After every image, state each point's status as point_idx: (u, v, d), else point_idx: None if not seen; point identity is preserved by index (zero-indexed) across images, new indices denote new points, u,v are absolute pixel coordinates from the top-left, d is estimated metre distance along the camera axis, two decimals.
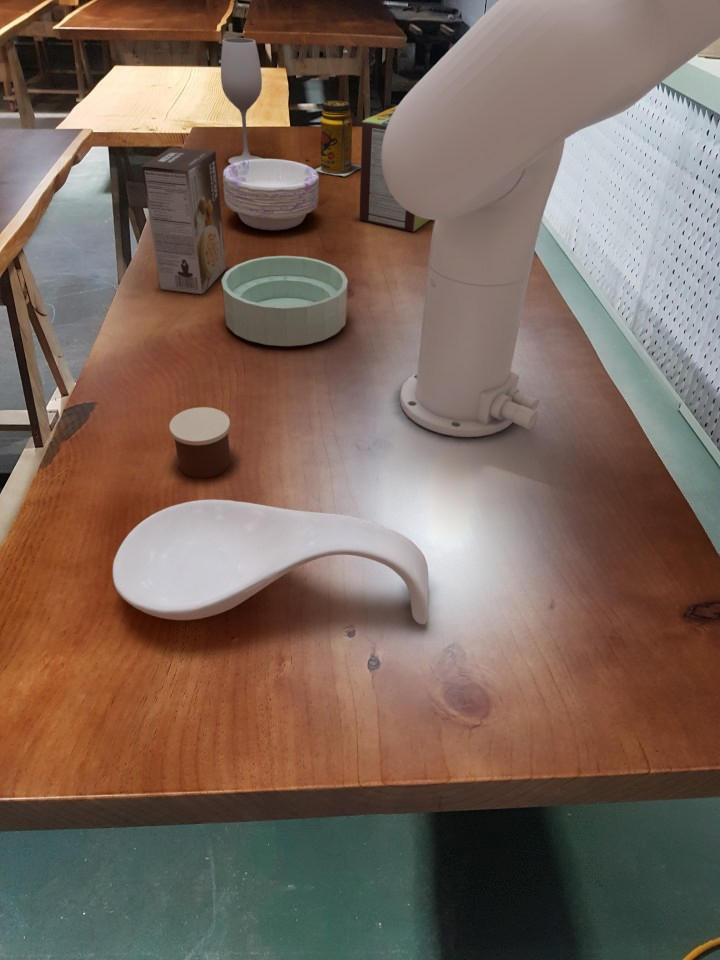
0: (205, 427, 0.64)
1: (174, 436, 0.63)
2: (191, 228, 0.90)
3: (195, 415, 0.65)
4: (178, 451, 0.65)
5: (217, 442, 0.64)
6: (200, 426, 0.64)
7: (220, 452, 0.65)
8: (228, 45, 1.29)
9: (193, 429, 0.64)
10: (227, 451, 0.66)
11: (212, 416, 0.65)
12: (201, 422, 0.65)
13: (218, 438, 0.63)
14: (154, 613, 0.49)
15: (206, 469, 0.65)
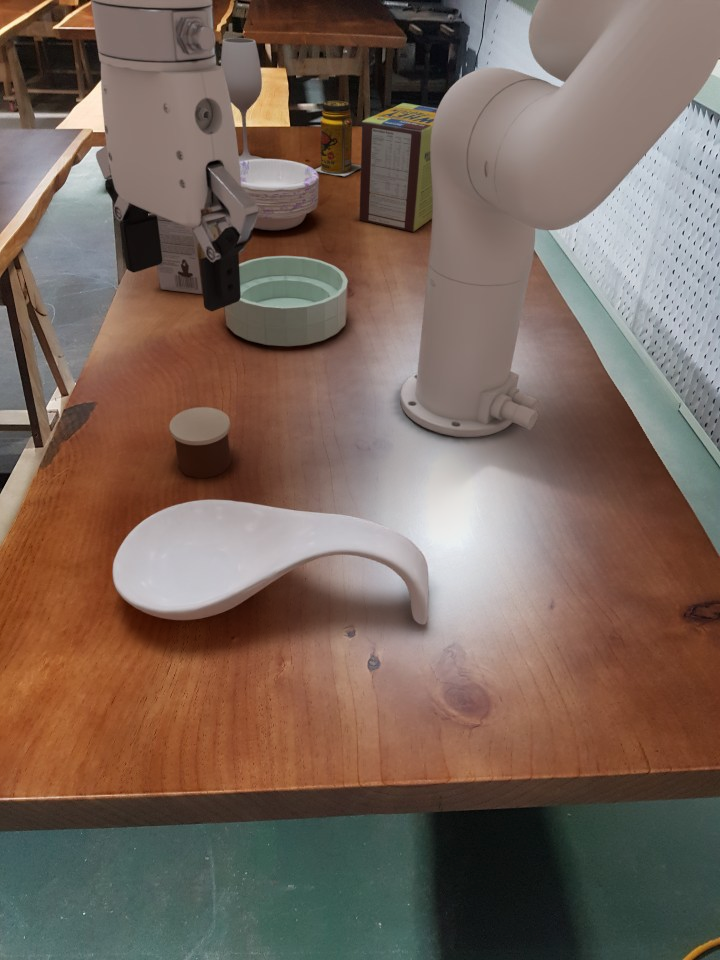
0: (205, 427, 0.64)
1: (174, 436, 0.63)
2: (191, 228, 0.90)
3: (195, 415, 0.65)
4: (178, 451, 0.65)
5: (217, 442, 0.64)
6: (200, 426, 0.64)
7: (220, 452, 0.65)
8: (228, 45, 1.29)
9: (193, 429, 0.64)
10: (227, 451, 0.66)
11: (212, 416, 0.65)
12: (201, 422, 0.65)
13: (218, 438, 0.63)
14: (154, 613, 0.49)
15: (206, 469, 0.65)
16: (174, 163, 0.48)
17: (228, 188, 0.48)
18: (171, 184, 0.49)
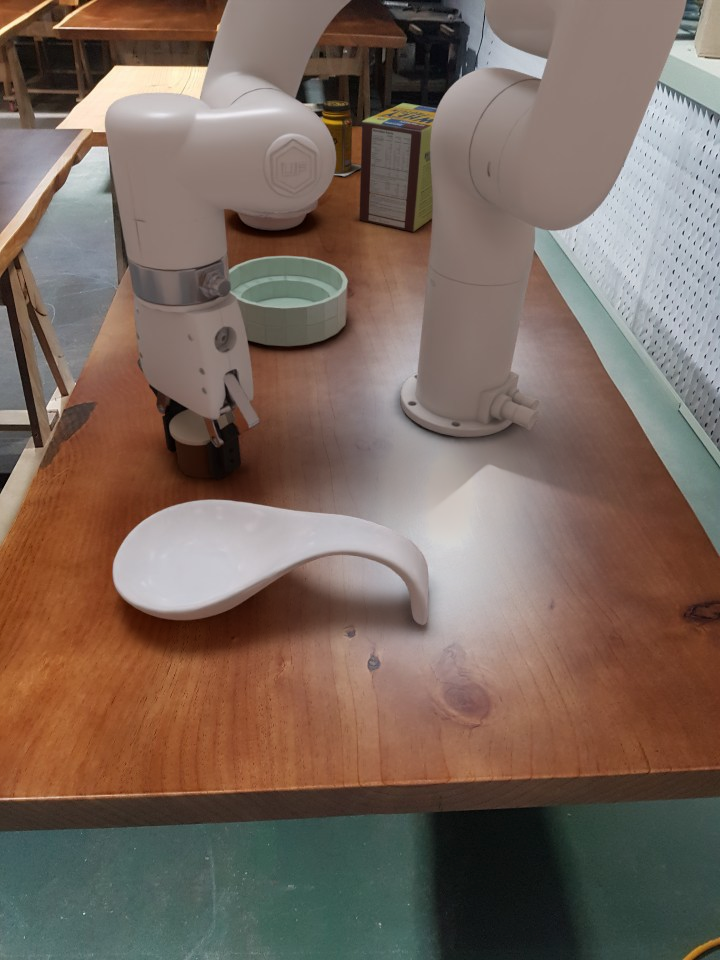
0: (205, 427, 0.64)
1: (174, 436, 0.63)
2: None
3: (195, 415, 0.65)
4: (178, 451, 0.65)
5: None
6: (200, 426, 0.64)
7: None
8: None
9: (193, 429, 0.64)
10: None
11: None
12: (201, 422, 0.65)
13: None
14: (154, 613, 0.49)
15: (206, 469, 0.65)
16: (197, 376, 0.57)
17: (238, 404, 0.58)
18: (194, 389, 0.58)
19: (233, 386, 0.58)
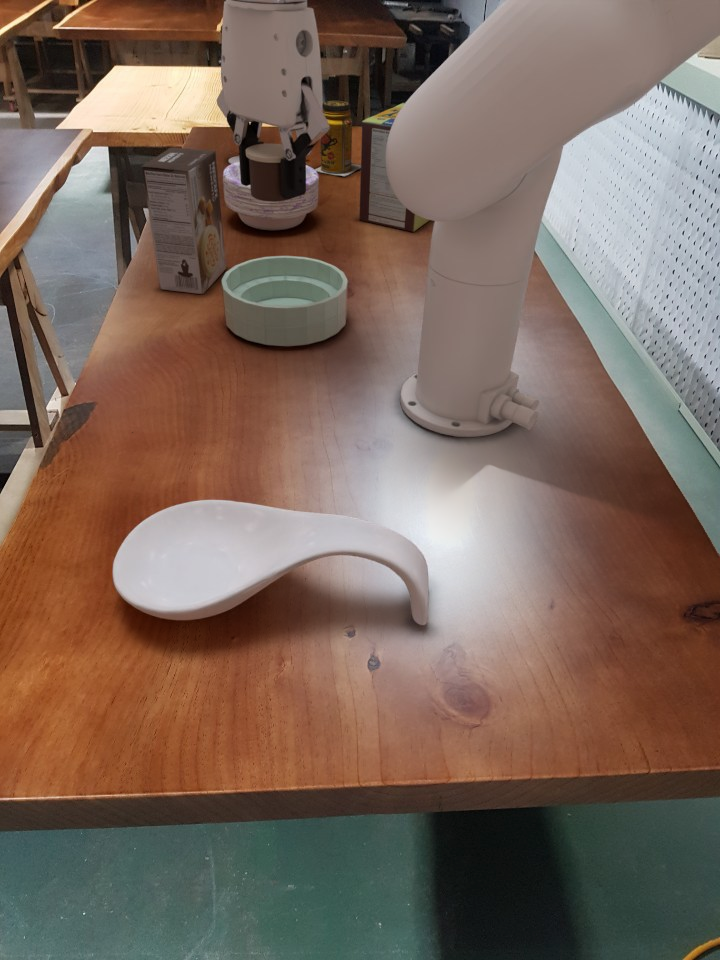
0: (277, 152, 0.74)
1: (251, 156, 0.73)
2: (191, 228, 0.90)
3: (266, 146, 0.76)
4: (253, 175, 0.75)
5: None
6: (272, 151, 0.74)
7: None
8: None
9: (266, 152, 0.74)
10: None
11: (281, 147, 0.76)
12: (272, 150, 0.75)
13: None
14: (154, 613, 0.49)
15: (277, 192, 0.75)
16: (279, 78, 0.67)
17: (312, 108, 0.68)
18: (275, 95, 0.68)
19: (308, 93, 0.68)
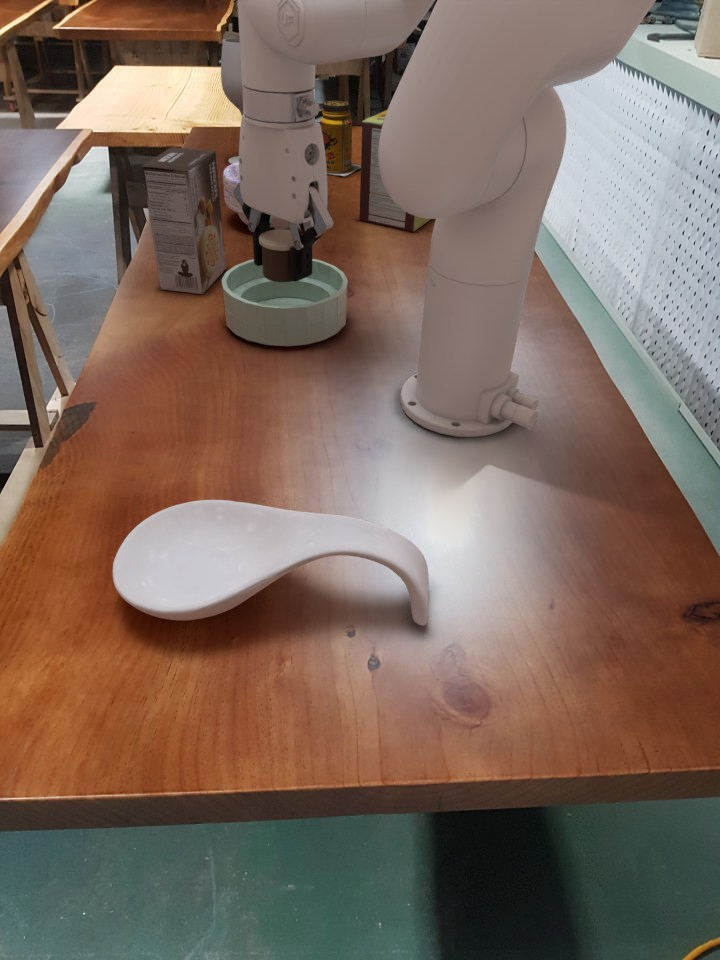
0: (286, 239, 0.83)
1: (263, 244, 0.82)
2: (191, 228, 0.90)
3: (277, 233, 0.85)
4: (265, 259, 0.84)
5: None
6: (282, 239, 0.83)
7: None
8: (228, 44, 1.29)
9: (277, 240, 0.83)
10: None
11: (290, 234, 0.85)
12: (283, 237, 0.84)
13: None
14: (154, 613, 0.49)
15: (286, 274, 0.84)
16: (289, 183, 0.76)
17: (318, 208, 0.77)
18: (285, 196, 0.77)
19: (315, 195, 0.77)
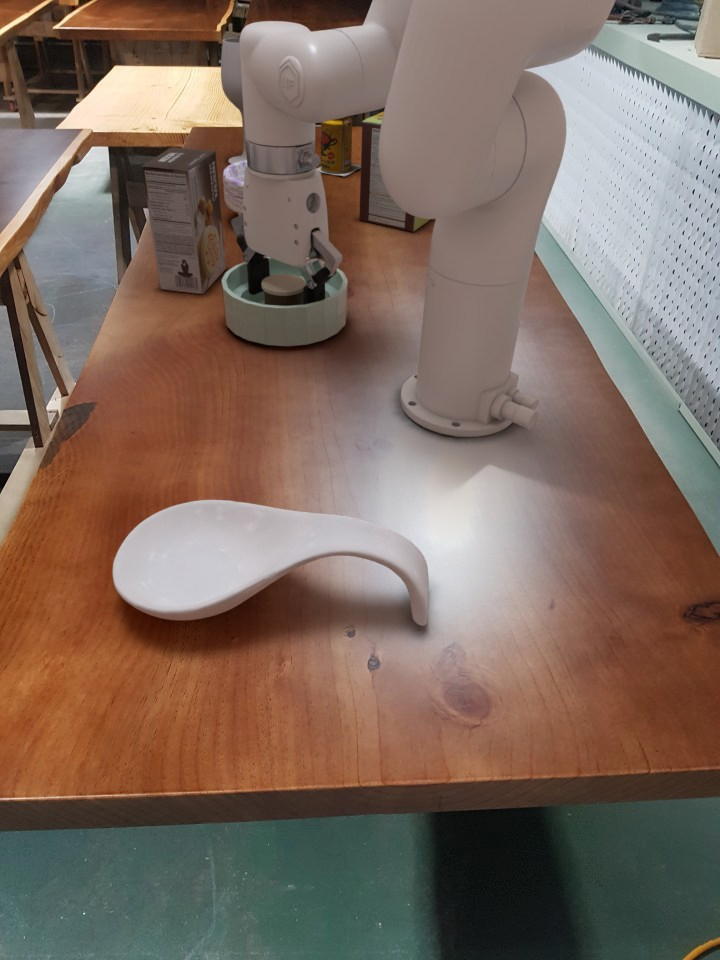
0: (288, 284, 0.87)
1: (266, 290, 0.86)
2: (191, 228, 0.90)
3: (279, 278, 0.88)
4: (267, 303, 0.87)
5: (297, 295, 0.87)
6: (284, 284, 0.87)
7: (298, 304, 0.88)
8: (228, 44, 1.29)
9: (279, 285, 0.86)
10: None
11: (292, 279, 0.88)
12: (284, 282, 0.87)
13: (298, 291, 0.86)
14: (153, 613, 0.49)
15: None
16: (292, 230, 0.79)
17: (324, 245, 0.79)
18: (288, 242, 0.80)
19: None
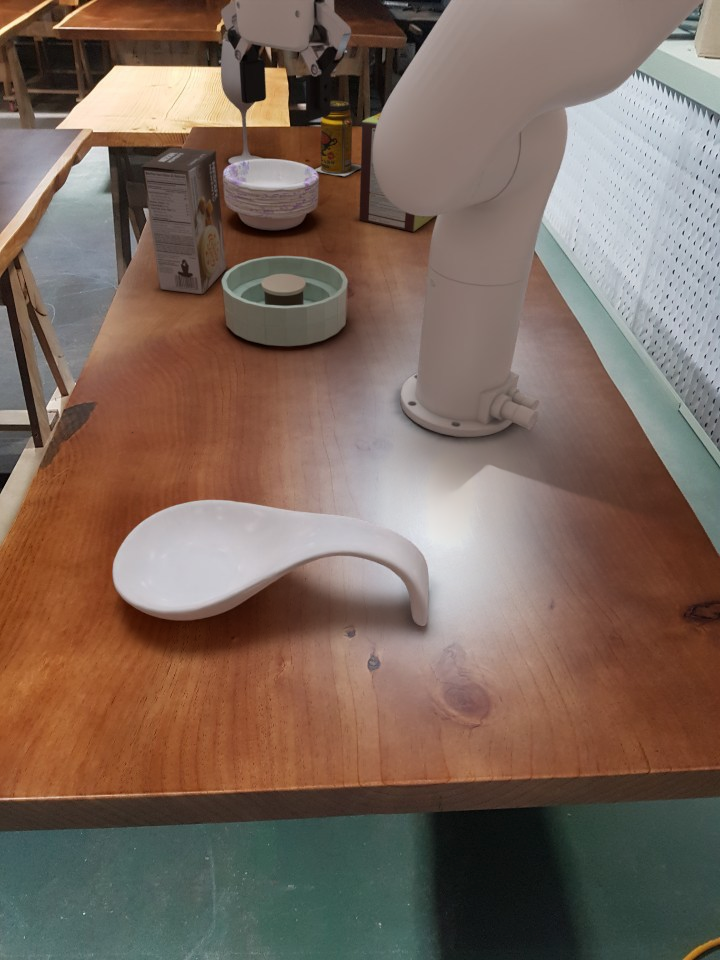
0: (288, 284, 0.87)
1: (266, 290, 0.86)
2: (191, 228, 0.90)
3: (279, 278, 0.88)
4: (267, 303, 0.87)
5: (297, 295, 0.87)
6: (284, 284, 0.87)
7: (298, 304, 0.88)
8: (228, 44, 1.29)
9: (279, 285, 0.86)
10: None
11: (292, 279, 0.88)
12: (284, 282, 0.87)
13: (298, 291, 0.86)
14: (153, 613, 0.49)
15: None
16: None
17: (330, 15, 0.68)
18: (288, 16, 0.69)
19: None
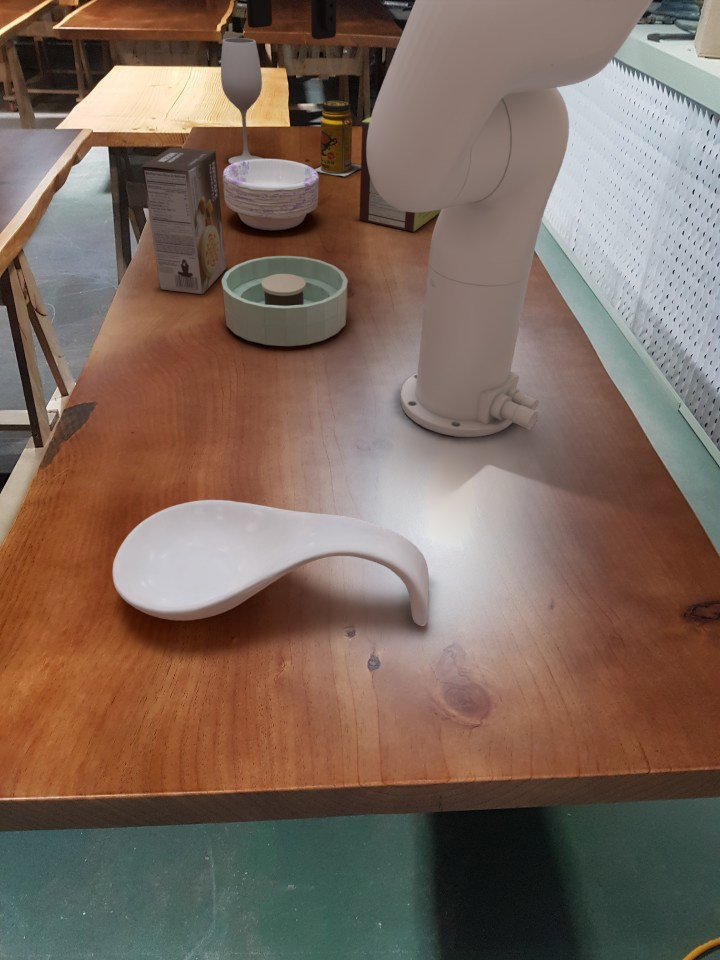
0: (288, 284, 0.87)
1: (266, 290, 0.86)
2: (191, 228, 0.90)
3: (279, 278, 0.88)
4: (267, 303, 0.87)
5: (297, 295, 0.87)
6: (284, 284, 0.87)
7: (298, 304, 0.88)
8: (228, 45, 1.29)
9: (279, 285, 0.86)
10: None
11: (292, 279, 0.88)
12: (284, 282, 0.87)
13: (298, 291, 0.86)
14: (153, 613, 0.49)
15: None
16: None
17: None
18: None
19: None
